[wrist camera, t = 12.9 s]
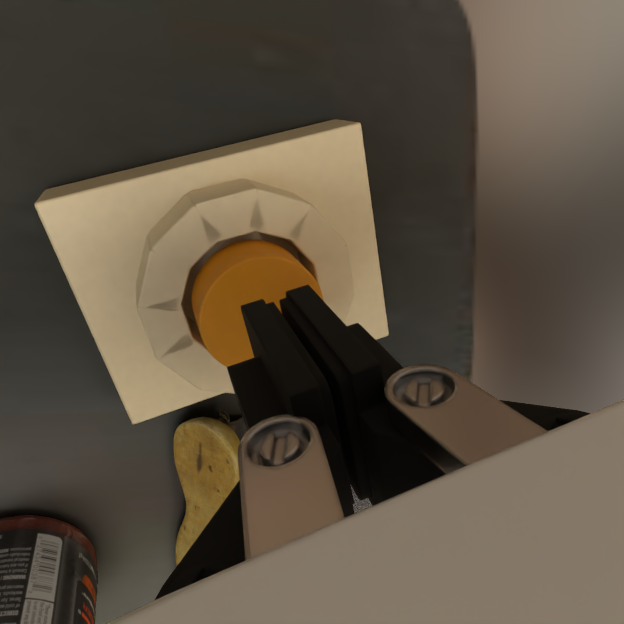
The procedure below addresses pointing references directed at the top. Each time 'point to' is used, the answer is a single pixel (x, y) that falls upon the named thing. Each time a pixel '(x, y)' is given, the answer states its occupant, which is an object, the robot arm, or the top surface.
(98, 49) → the top surface
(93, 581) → the supplement bottle
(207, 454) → the tan elongated lumpy piece
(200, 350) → the button box
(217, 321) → the button
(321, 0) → the top surface
